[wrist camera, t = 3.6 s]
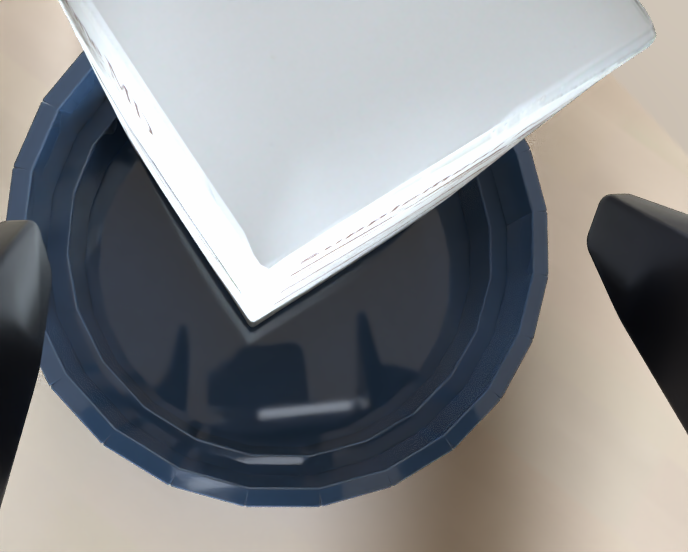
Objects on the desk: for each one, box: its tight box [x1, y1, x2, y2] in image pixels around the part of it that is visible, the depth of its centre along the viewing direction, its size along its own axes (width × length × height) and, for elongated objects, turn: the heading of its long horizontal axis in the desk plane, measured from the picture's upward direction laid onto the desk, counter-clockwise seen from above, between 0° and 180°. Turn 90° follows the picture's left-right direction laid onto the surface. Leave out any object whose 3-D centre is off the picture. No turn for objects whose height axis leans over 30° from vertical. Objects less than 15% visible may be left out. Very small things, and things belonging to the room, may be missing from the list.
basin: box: [6, 50, 548, 507], centre depth 18 cm, size 15×15×4 cm
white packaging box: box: [59, 0, 656, 327], centre depth 14 cm, size 7×7×13 cm
